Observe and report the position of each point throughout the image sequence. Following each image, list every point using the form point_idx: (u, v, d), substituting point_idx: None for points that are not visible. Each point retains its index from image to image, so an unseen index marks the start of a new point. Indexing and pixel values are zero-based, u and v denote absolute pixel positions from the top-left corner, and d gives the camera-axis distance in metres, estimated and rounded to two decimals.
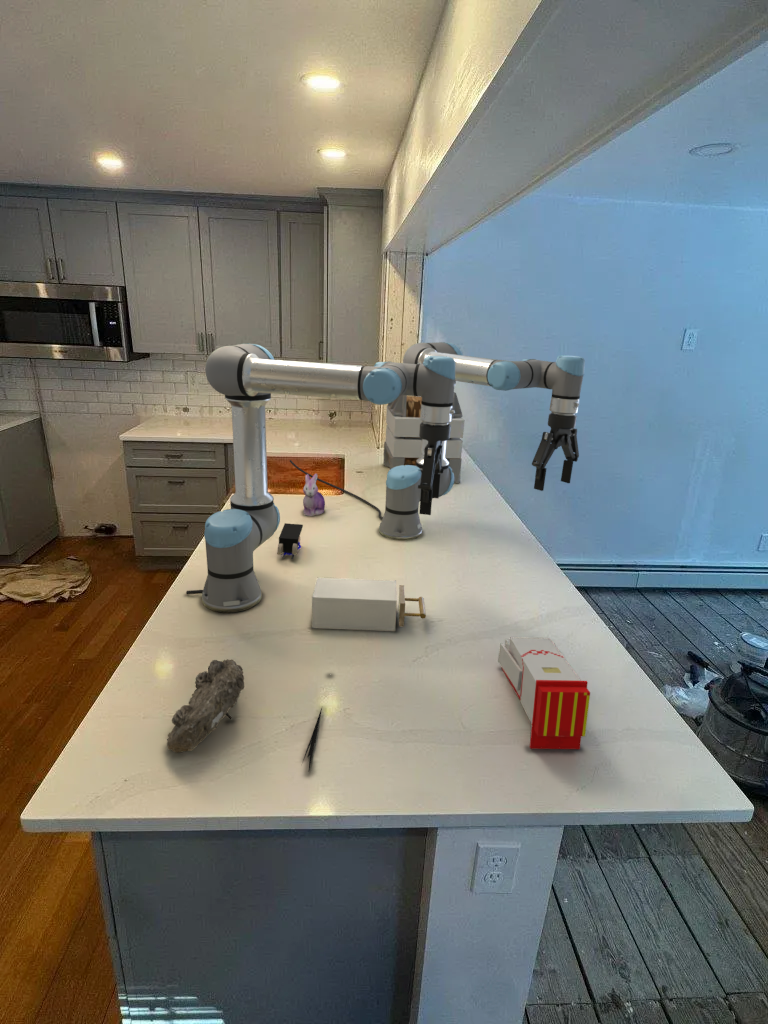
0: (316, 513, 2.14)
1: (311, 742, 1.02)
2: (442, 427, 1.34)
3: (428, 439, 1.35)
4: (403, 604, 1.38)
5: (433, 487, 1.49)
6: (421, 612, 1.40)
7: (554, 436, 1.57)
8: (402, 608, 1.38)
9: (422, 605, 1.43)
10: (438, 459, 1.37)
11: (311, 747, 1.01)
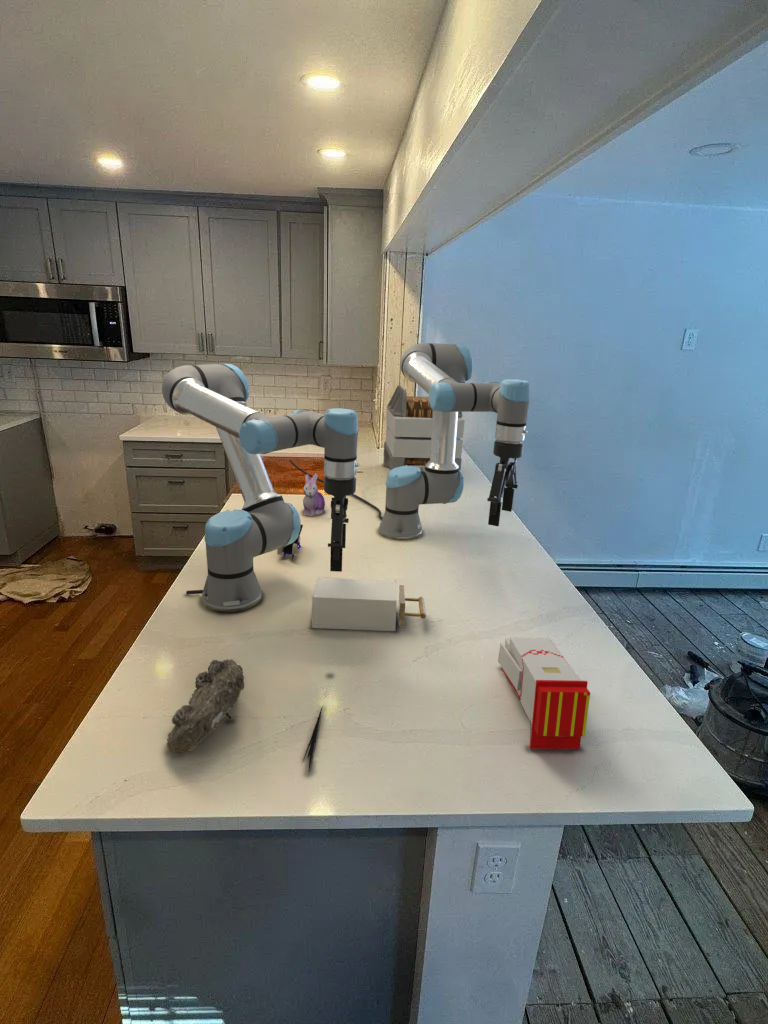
0: (316, 513, 2.14)
1: (311, 742, 1.02)
2: (348, 482, 1.30)
3: (334, 495, 1.30)
4: (403, 604, 1.38)
5: None
6: (421, 612, 1.40)
7: (505, 467, 1.45)
8: (402, 608, 1.38)
9: (422, 605, 1.43)
10: (345, 513, 1.33)
11: (311, 747, 1.01)
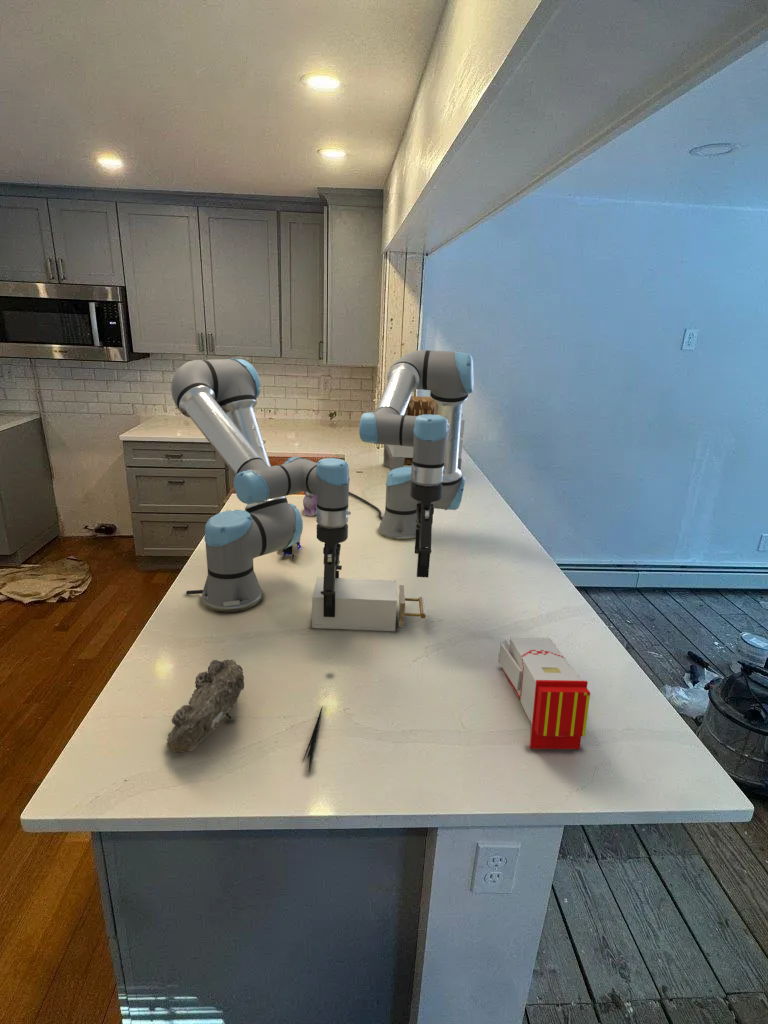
0: None
1: (311, 742, 1.02)
2: (340, 530, 1.33)
3: (326, 542, 1.34)
4: (403, 604, 1.38)
5: None
6: (421, 612, 1.40)
7: None
8: (402, 608, 1.38)
9: (422, 605, 1.43)
10: (338, 560, 1.37)
11: (311, 747, 1.01)
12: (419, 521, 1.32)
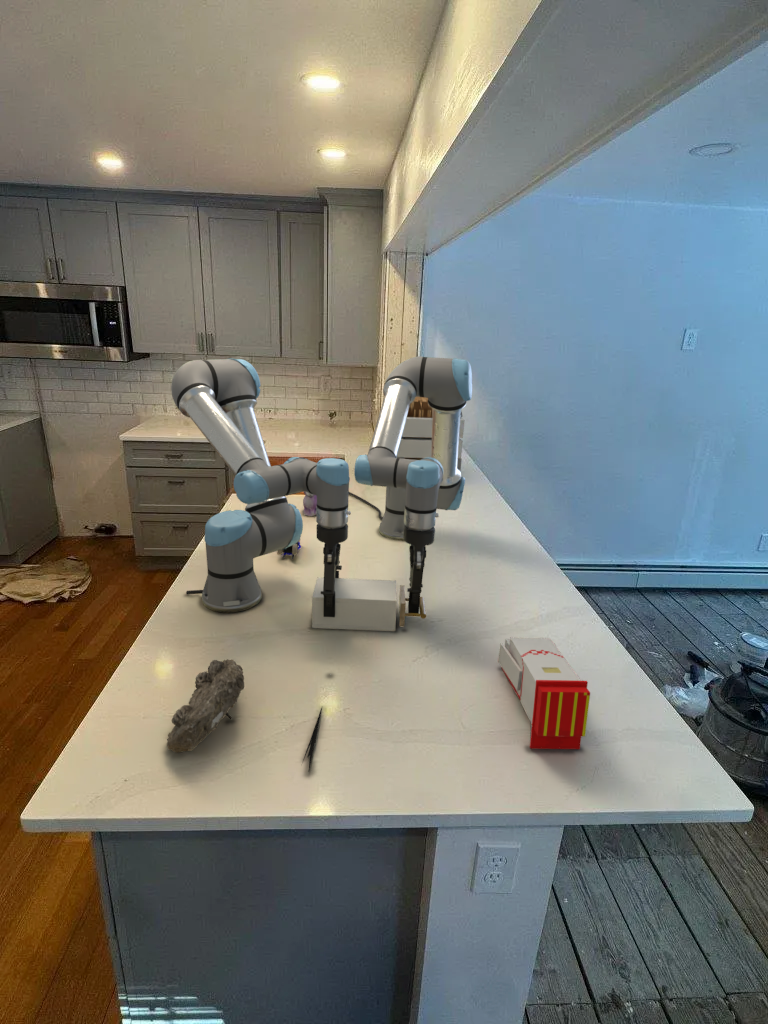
0: None
1: (311, 742, 1.02)
2: (340, 530, 1.33)
3: (326, 542, 1.34)
4: (403, 604, 1.38)
5: None
6: (421, 612, 1.40)
7: (422, 555, 1.34)
8: (402, 608, 1.38)
9: (422, 605, 1.43)
10: (338, 560, 1.37)
11: (311, 747, 1.01)
12: (411, 565, 1.37)
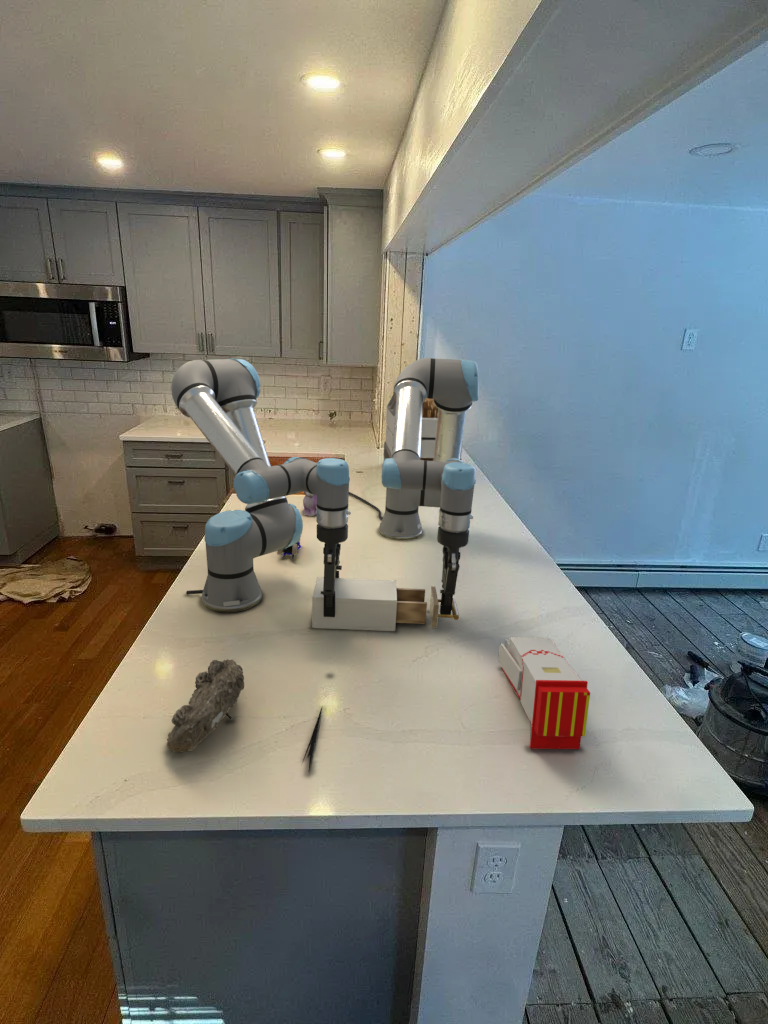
0: None
1: (311, 742, 1.02)
2: (340, 530, 1.33)
3: (326, 542, 1.34)
4: (437, 605, 1.38)
5: None
6: (454, 613, 1.40)
7: (457, 557, 1.34)
8: (436, 609, 1.38)
9: (454, 606, 1.43)
10: (338, 560, 1.37)
11: (311, 747, 1.01)
12: (445, 567, 1.37)
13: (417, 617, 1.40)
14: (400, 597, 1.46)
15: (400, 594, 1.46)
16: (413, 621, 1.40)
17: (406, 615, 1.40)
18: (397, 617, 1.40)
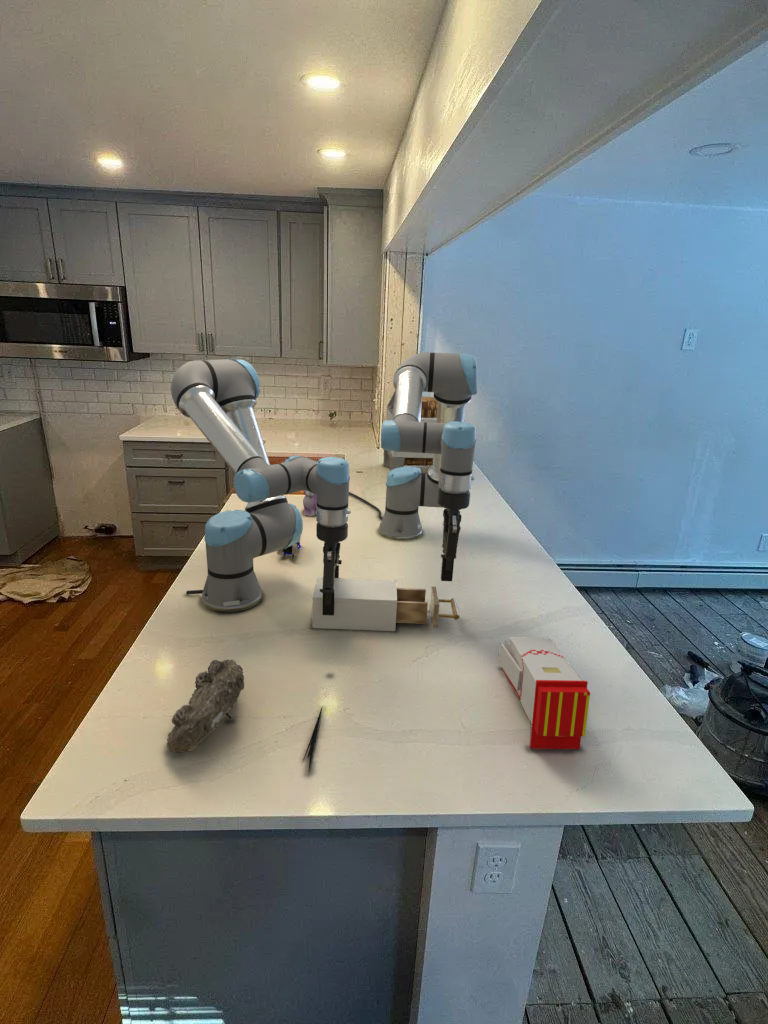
0: None
1: (311, 742, 1.02)
2: (340, 529, 1.33)
3: (326, 541, 1.33)
4: (437, 605, 1.38)
5: None
6: (455, 613, 1.40)
7: (457, 519, 1.31)
8: (436, 609, 1.38)
9: (455, 606, 1.43)
10: (337, 559, 1.36)
11: (311, 747, 1.01)
12: (446, 530, 1.34)
13: (418, 617, 1.40)
14: (400, 597, 1.46)
15: (401, 594, 1.46)
16: (414, 621, 1.40)
17: (407, 615, 1.40)
18: (397, 617, 1.40)
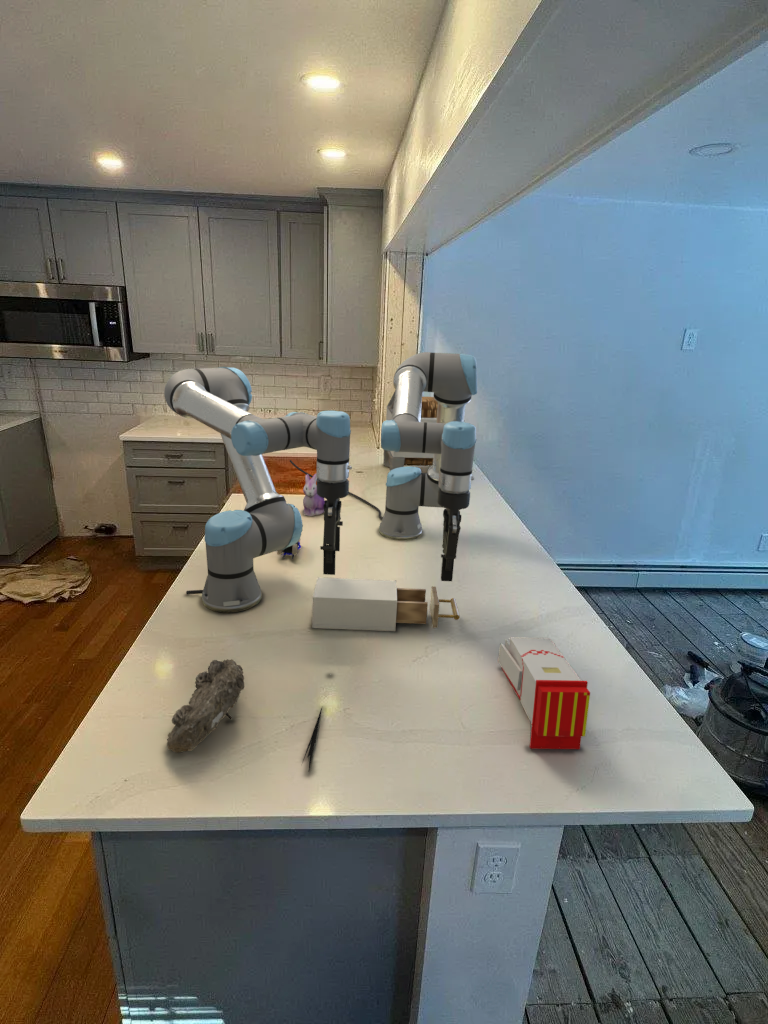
0: (316, 513, 2.14)
1: (311, 742, 1.02)
2: (341, 484, 1.29)
3: (327, 497, 1.30)
4: (437, 605, 1.38)
5: None
6: (455, 613, 1.40)
7: (457, 519, 1.31)
8: (436, 609, 1.38)
9: (455, 606, 1.43)
10: None
11: (311, 747, 1.01)
12: (446, 530, 1.34)
13: (418, 617, 1.40)
14: (401, 597, 1.46)
15: (401, 594, 1.46)
16: (414, 621, 1.40)
17: (407, 615, 1.40)
18: (397, 617, 1.40)
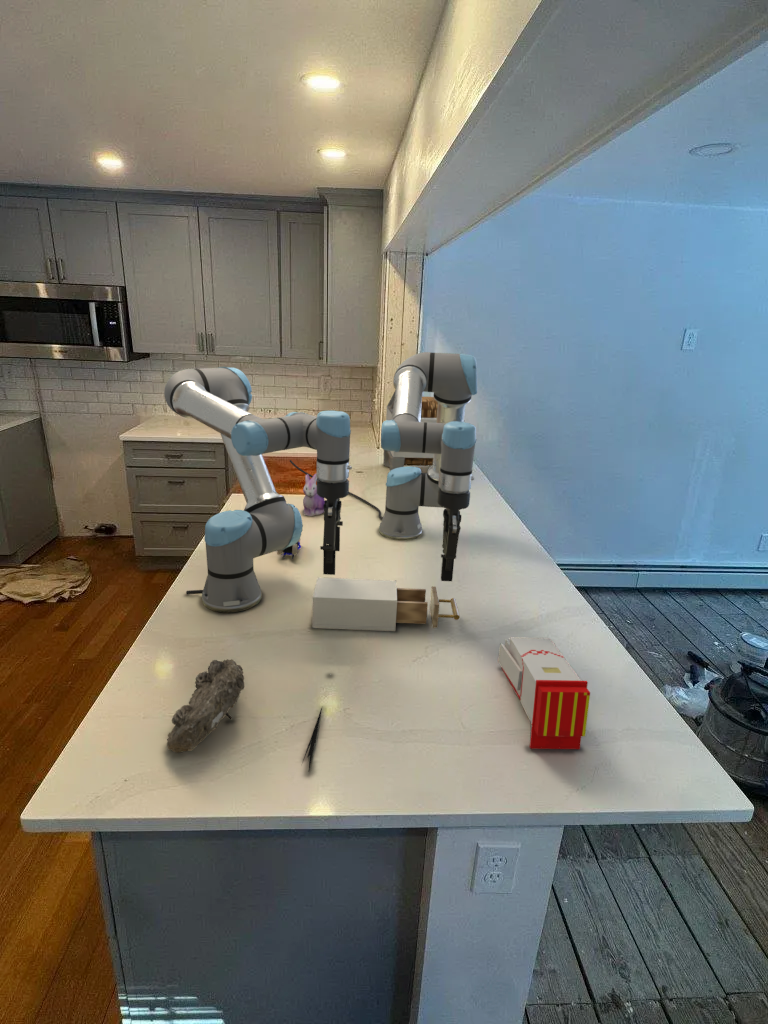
0: (316, 513, 2.14)
1: (311, 742, 1.02)
2: (341, 484, 1.29)
3: (327, 497, 1.30)
4: (437, 605, 1.38)
5: None
6: (455, 613, 1.40)
7: (457, 519, 1.31)
8: (436, 609, 1.38)
9: (455, 606, 1.43)
10: None
11: (311, 747, 1.01)
12: (446, 530, 1.34)
13: (418, 617, 1.40)
14: (400, 597, 1.46)
15: (401, 594, 1.46)
16: (414, 621, 1.40)
17: (407, 615, 1.40)
18: (397, 617, 1.40)
